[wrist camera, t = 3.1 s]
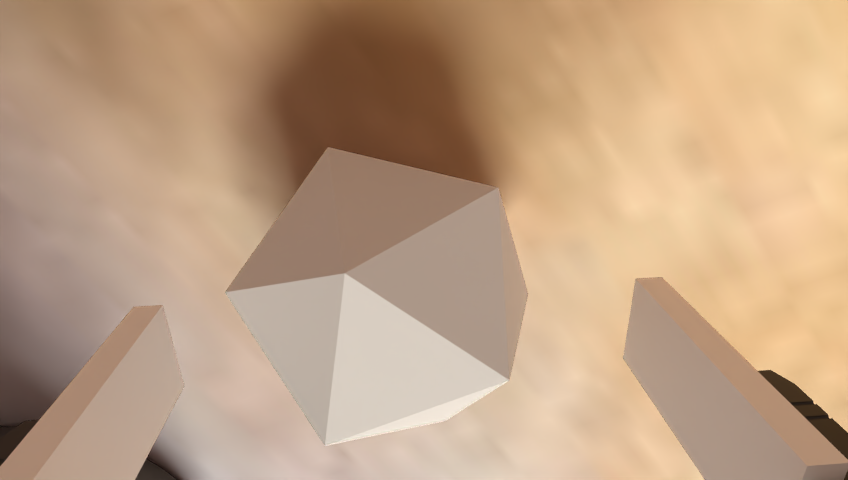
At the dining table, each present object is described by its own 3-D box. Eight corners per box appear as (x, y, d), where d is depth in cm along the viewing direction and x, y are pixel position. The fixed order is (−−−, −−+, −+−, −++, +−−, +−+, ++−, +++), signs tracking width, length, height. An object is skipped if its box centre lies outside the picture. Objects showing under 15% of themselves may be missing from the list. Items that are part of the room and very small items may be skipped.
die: (289, 97, 19) (103, 342, 13) (539, 77, 15) (429, 414, 9) (376, 248, 25) (274, 461, 19) (570, 262, 21) (514, 534, 15)
